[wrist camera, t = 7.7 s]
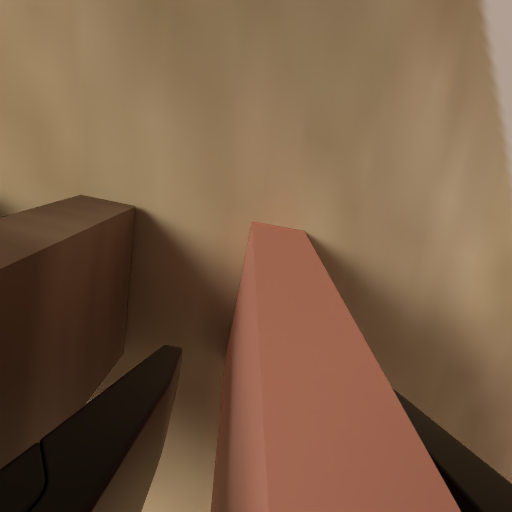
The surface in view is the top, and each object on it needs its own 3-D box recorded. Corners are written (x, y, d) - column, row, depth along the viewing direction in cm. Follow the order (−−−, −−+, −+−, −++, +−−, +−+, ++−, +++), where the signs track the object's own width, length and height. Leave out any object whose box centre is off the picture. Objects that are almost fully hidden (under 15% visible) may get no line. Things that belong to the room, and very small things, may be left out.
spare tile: (224, 361, 12) (173, 899, 4) (251, 221, 10) (275, 614, 2) (270, 367, 12) (322, 902, 4) (304, 231, 11) (530, 635, 2)
